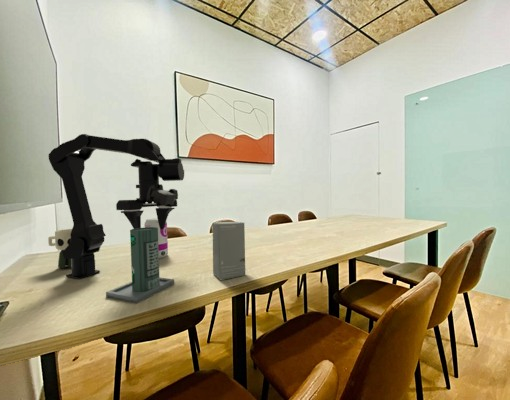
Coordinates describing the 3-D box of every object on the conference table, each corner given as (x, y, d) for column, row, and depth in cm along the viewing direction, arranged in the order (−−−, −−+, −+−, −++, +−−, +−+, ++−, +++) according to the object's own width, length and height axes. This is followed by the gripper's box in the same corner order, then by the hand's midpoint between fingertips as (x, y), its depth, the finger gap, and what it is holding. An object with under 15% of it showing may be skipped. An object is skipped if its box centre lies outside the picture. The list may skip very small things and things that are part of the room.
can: (145, 281, 63) (143, 227, 63) (164, 283, 61) (162, 227, 61) (127, 290, 57) (124, 230, 57) (146, 293, 55) (144, 231, 55)
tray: (106, 297, 55) (105, 292, 55) (146, 279, 66) (146, 275, 66) (136, 303, 52) (136, 298, 52) (174, 283, 63) (174, 279, 63)
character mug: (45, 272, 76) (43, 232, 75) (53, 266, 82) (51, 230, 82) (86, 267, 80) (84, 229, 80) (90, 262, 87) (89, 227, 86)
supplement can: (171, 253, 96) (170, 217, 96) (161, 259, 88) (160, 220, 87) (152, 253, 97) (151, 218, 96) (141, 259, 89) (139, 220, 88)
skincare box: (219, 281, 64) (218, 224, 63) (212, 273, 70) (210, 221, 70) (247, 275, 68) (245, 221, 67) (237, 269, 74) (236, 219, 74)
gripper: (143, 178, 60) (146, 238, 60) (189, 181, 77) (191, 228, 78) (113, 180, 64) (116, 236, 64) (163, 183, 81) (165, 227, 82)
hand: (150, 231), depth 72 cm, fingers open, 9 cm apart
